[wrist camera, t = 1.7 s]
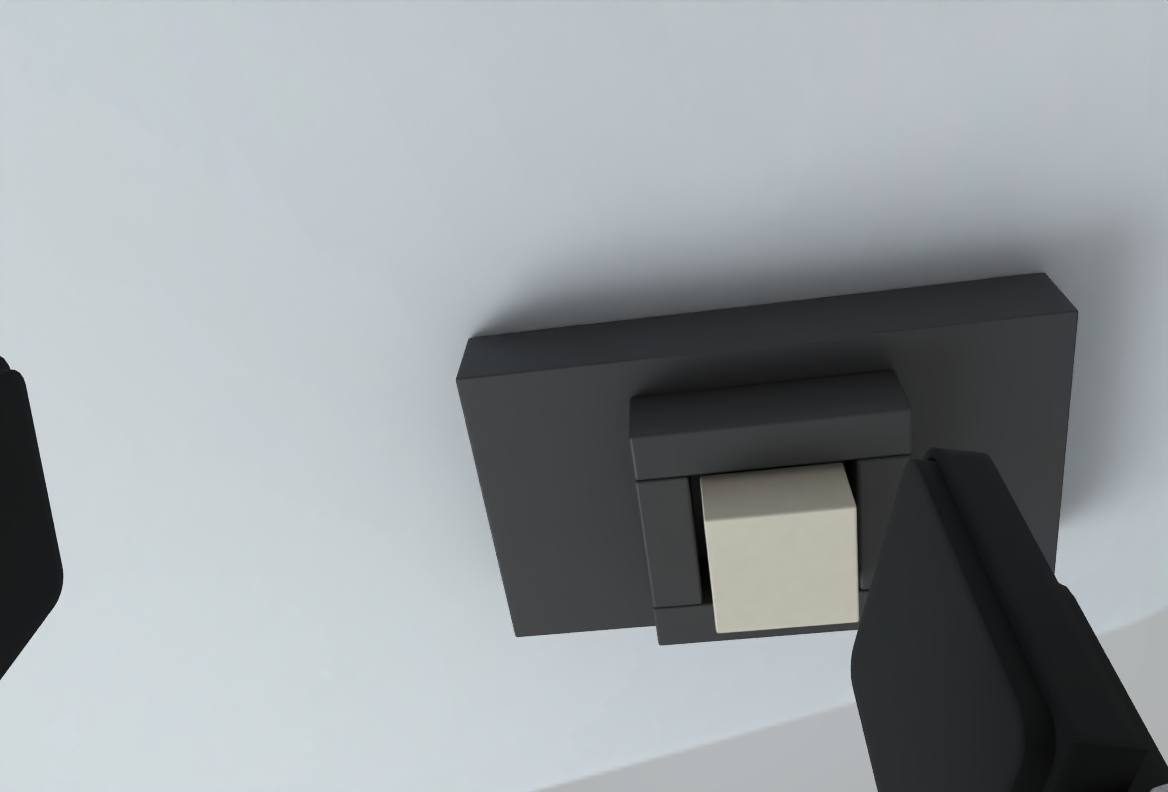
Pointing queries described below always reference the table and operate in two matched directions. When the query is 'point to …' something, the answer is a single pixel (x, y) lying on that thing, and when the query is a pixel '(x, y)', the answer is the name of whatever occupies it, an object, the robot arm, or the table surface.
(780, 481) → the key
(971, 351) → the key block
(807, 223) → the table surface
